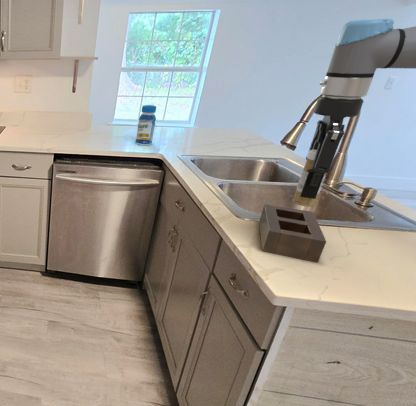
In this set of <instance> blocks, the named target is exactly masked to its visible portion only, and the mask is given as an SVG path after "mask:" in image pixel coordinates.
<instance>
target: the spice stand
mask: <svg viewBox="0 0 416 406" xmlns="http://www.w3.org/2000/svg"><path fill="white" fill-rule="evenodd" d="M258 225H259V226H258V227H259V235H260V241H261V242H260V243H261V250H262V252H265V253H270V254H275V255H278V256H282V257H283V256H284V257H288V258H294V259H298V260H303V261H307V262H312V263H319V261H320V258H321V256H322V255H323V251H324V249H325V246H326V244H327V240H326V237H325V235H324V232H323V230H322V228H321V226H320V224H319V222H318V219H317V217H316V215H315V212H314V211H310V210H304V209H297V208H292V207H286V206H285V207H284V206H278V205H272V204H266V203H265V204H264V205H263V208H262V211H261V214H260V216H259V221H258Z"/></svg>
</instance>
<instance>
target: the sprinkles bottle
mask: <svg viewBox="0 0 416 406" xmlns="http://www.w3.org/2000/svg"><path fill="white" fill-rule="evenodd" d="M316 152H317V150H310V151H309V150H308V152H307V155H306V157H307V160H306V161H305V164H304V167H303V169H302V171H301V174H300V177H299V180H298V184H297V186H296V191H295V193H294V197H293V198H292V199H291V201H292V203H293V204H296V206H301V207H306V208H307V207H308V208H309V207H315V206H316V204H317V200H318V197H319V194H320V192H321V190H322V187H323V184H324V181H325V180H326V175H327V173H325V174H324V177H323V179H322V182H321V185H320V187H319V190H318V193H317V195H316V198H315V199H312V198H305V197H300V195H301V192H302V190H303V187H304V184H305V181H306V178H307V175H308V173H309V172H307V169H311V168H312V165H313V162H314V159H315V155H316Z"/></svg>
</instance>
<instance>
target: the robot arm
mask: <svg viewBox="0 0 416 406" xmlns="http://www.w3.org/2000/svg"><path fill="white" fill-rule="evenodd" d="M394 24H395V20H394V19H392V18H374V19H355V20H350V21H348V22H346V23H345V24H344V25H343V27H342V28H341V31H340V33H339V35H338V38H337V40H336V42H335V44H334V48H333V53H332V55H331V58H330V62H329V65H328V69H327V71H326V74H325V77H324V80H320V82H319V85H320V86H321V88H320V92H319V94H320V96H319V97H317V99H316V102H315V105H314V109H313V114H316V115H317V116H323V117H322V120H321V119H318V121H317V123H316V128H315V131H314V133H313V137H312V140H311V143H310V146H309V149H308V152H309V151H310V150H317V152H316V155H315V159H314V162H313V165H312V168H311V169H307V172H309V173H308V175H307V178H306V181H305V184H304V187H303V190H302V192H301V195H300V197H305V198H312V199H315V198H316V195H317V193H318V190H319V187H320V185H321V182H322V179H323V177H324V174H325V173H326V174H329V172H330V168H331V166H332V163H333V161H334V159H335V156H336V153H337V150H338V148H339V145H340V143H341V140H342V138H343V137H344V136H345V124H343V123H344V120H345V118H354V117H358V115H360V112H361V109H362V107H363V104H364V99H363V97H366V96H367V95H368V93H369V90H370V86H371V84H372V81H373V79H374V76H375V73H376V70H377V69H416V25H415V26H410V27H405V28H394ZM321 95H322V96H321ZM305 160H306V161H307V156H305Z"/></svg>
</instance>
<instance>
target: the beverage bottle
mask: <svg viewBox="0 0 416 406" xmlns="http://www.w3.org/2000/svg"><path fill="white" fill-rule="evenodd" d="M156 112H157V106H156V105H154V104H153V105H152V104H144V105H142V107H141V114H140V116H139V118H138V123H137V129H136V137H135V144H137V145H139V146H151V145H152V144H153V138H154V132H155V127H156V121H157V118H156V117H157V116H156V115H155V113H156Z"/></svg>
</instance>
